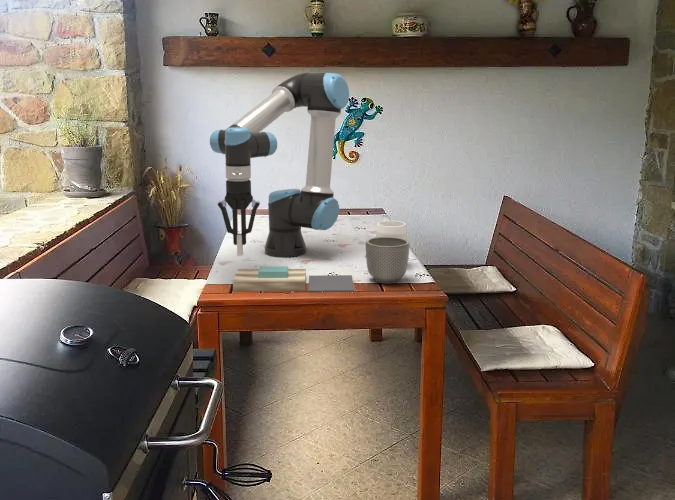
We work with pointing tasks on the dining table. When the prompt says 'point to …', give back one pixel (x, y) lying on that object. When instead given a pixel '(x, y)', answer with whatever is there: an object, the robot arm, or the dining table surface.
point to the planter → (387, 258)
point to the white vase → (391, 229)
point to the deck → (269, 281)
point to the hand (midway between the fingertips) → (240, 254)
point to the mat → (331, 283)
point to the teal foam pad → (273, 272)
